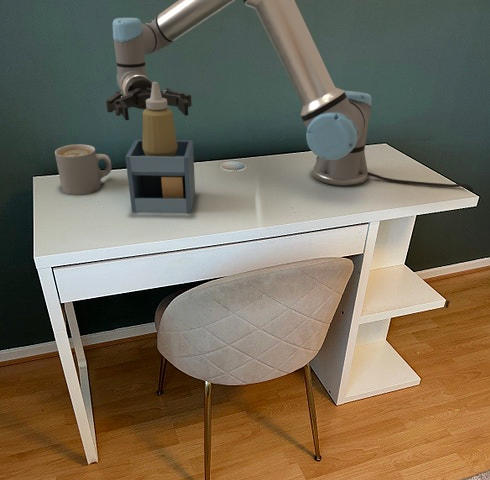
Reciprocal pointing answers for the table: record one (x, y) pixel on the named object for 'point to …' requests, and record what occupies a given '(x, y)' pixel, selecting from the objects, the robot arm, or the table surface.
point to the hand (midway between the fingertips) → (157, 111)
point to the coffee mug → (80, 168)
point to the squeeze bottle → (158, 126)
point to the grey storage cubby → (159, 178)
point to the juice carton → (173, 186)
